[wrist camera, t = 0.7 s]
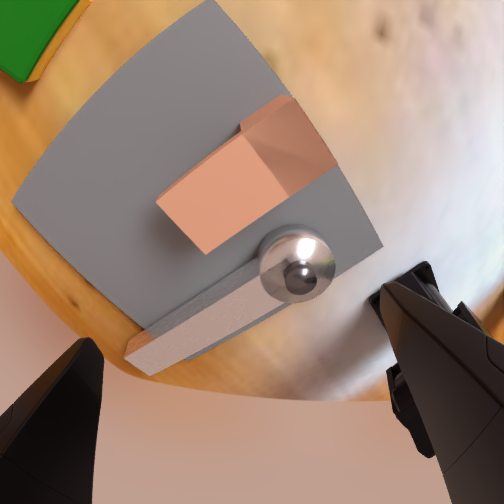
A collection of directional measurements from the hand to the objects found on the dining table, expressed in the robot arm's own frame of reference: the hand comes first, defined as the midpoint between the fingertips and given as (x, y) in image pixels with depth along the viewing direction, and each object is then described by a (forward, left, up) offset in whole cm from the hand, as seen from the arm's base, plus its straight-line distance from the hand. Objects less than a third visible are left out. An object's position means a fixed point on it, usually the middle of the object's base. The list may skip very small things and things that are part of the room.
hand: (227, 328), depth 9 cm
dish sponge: (+22, +4, -14) cm, 27 cm away
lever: (-7, +6, -12) cm, 15 cm away
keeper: (+1, -2, -13) cm, 13 cm away
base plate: (0, +4, -14) cm, 14 cm away
